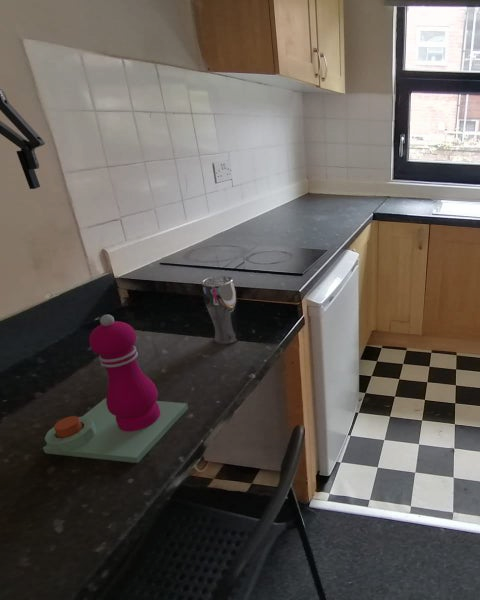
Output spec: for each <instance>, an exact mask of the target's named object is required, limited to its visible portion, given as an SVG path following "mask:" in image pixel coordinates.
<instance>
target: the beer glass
mask: <svg viewBox="0 0 480 600" xmlns="http://www.w3.org/2000/svg"><path fill="white" fill-rule="evenodd" d="M233 279H234V278H233V277H231V276H229V275H215V276H211V277H207V278H205V279H203V280H202V281H201V284H200V285H201V290H202V297H203V302H204V305H205V309H206V311H207V315H208V316H209V318H210V321H211V323H212V326H213V330H214V336H213V337H214V338H213V339H214V342H215V343H216V344H218V345H231V344H234V343H236V342H239V341H240V339H241V338H242V335H243V334H242V332H241V330H240V328H239V323H238V295H237V291H236V288H235V287H236V286H235V284H234V280H233Z"/></svg>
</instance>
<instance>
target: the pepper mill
mask: <svg viewBox="0 0 480 600" xmlns="http://www.w3.org/2000/svg"><path fill="white" fill-rule="evenodd" d="M99 323H100V324H99V325H98V326H96V327H95V328H94V329H93V330H92V331H91V332H90V335H89V338H88V343H89V348H90V349H91V350H92V352H94V353H95V354H97V355H98V360H99V361H100V365H101V366H102V367H104V368H105V369H106V371H107V376H108V385H107V391H106V396H105V398H106V404H107V407H108V410H109V412H110V413H111V414H113V415H115V416H116V421H117V424H118V427H119V428H120V429H121V430H123V431H137V430H140V429H143V428H145V427H148V426H149V425H151V424H153V423H154V422H155V421H156V420H157V419H158V418H159V416H160V409H159V406H158V403H157V402H156V401H158V398H159V391H158V388H157V386H156V385H155V383H154V381H152V380H151V379H150V378H149V377H148V376H147V375H146V374H145V373H144V372H143V371H142V369H141V368H140V366H139V363H138V361H137V358H138V355H139V352H138V351H137V347H136V345H135V344H136V342H137V334H136V331H135V329H134V327H133V326H132V325H130V324H129V323H126V322H123V321H119V320H118V321H117V320H115V317H114V316H113V315H111V314H103V315H102V316H101V317H100V318H99Z"/></svg>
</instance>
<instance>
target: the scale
mask: <svg viewBox="0 0 480 600" xmlns="http://www.w3.org/2000/svg"><path fill="white" fill-rule="evenodd" d="M156 402H157V403H158V406H159V409H160V416H159V418H158V419H157V420H156V421H155V422H154V423H153V424H151V425H149V426H148V427H145V428H143V429H140V430H137V431H123V430H121V429H120V428H119V427H118V424H117V421H116V416H115V415H113V414H111V413H110V412H109V410H108V407H107V404H106V397H105V398H104V399H102V400H101V401H100V402H99V403H97V404H96V405H95V406H93V407H92V408H91V409H90V410H89V411H87V412H86V413H84V414H83V415H82V416H78V417H79V419H80V422H81V424H82V430H80V431H79V432H78V433H76V434H74V435H72V436H70V437H65V438H59V437H58V436H57V434H56V431H55V429H54V426H53V427H52V428H51V429H49V430H48V431H47V433H46V435H45V436H44V441H45V443H46V445H44V446H43V447H42V449H43V452H44V453H45V454H48V455H58V456H65V457H66V456H69V457H78V458H85V459H86V458H87V459H95V460H106V461H115V462H124V463H132V464H133V463H134V464H139V462H141V460H142V459H143V458H144V457H146V455H147V454H148V453H149V452H150V451H151V450H152V448H153V447H154V446H155V445H156V444H157V443H158V442H159V441H160V440H161V438H163V436H165V434H166V433H167V432H168V431H169V430H170V429H171V428H172V427H174V425H175V423H176V422H178V420H179V419H180V418H181V417H182V416H183V415H184V414H185V413H186V412H187V411H188V410H189V406H188V403H184V402H174V401H161V400H156Z"/></svg>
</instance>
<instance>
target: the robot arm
mask: <svg viewBox="0 0 480 600" xmlns="http://www.w3.org/2000/svg"><path fill="white" fill-rule="evenodd" d="M0 111H1V113H2V114H3V115H4V116H5V117H6V118H7V119H8V120H9V121H10V122H11V123H12V125H13V126H14V127H15V128H16V129H17V130H18V131H19V132H20V133H21V134H22V135H23V136H22V135H21V134H19V133H18V132H17V131H15V130H14V129H13V128H11V127H10V126H8V125H7V124H6V123H4V122H3V121H2V120H0V135H1V136H3V137H4V138H5V139H7V140H8V141H10V142H11V143H12V144H14V145H15V146H17V147H18V148H19V149H20V150H16V151H15V152H16V154H17V155H16V156H17V158H18V161H19V163H20V165H21V168H22V171H23V174H24V177H25V180H26V183H27V185H28V188H29V190H36V189H38V188H41V185H40V181H39V179H38V176H37V174H36V171H35V170H37V169H40V163H39V160H38V158H37V154H36V151H35V150H36V149H37V148H40V147H43V146H44V145H46V143H45V140H44V139H43V138H42V137H41V136H40V134H38V133H37V132H36V130H35V129H33V127H32V126H31V125H30V124H29V123H28V121H26V119H24V117H23V116H22V115H21V114H20V113H19V112H18V110H16V109H15V108H14V106H13V105H12V104H11V103H10V101H9V99H8V97H7V95H6V94H5V92H4V90H3V89H1V88H0Z"/></svg>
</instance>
